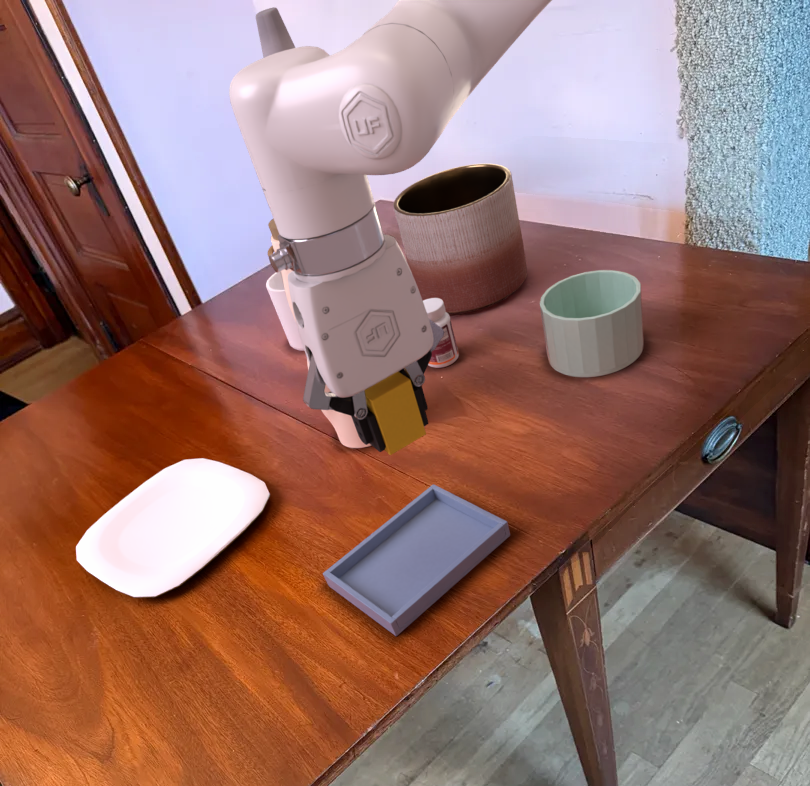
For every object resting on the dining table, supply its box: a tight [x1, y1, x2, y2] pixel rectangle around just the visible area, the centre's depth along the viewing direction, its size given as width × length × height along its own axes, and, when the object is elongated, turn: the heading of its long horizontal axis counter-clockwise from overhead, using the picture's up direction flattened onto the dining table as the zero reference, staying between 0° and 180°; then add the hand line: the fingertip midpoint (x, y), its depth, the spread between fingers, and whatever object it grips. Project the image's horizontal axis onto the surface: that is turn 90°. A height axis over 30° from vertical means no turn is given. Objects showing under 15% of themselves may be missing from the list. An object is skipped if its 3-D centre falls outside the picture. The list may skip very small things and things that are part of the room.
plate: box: [75, 457, 271, 599], centre depth 92 cm, size 22×22×2 cm
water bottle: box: [267, 218, 373, 449], centre depth 89 cm, size 10×9×28 cm
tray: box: [322, 483, 511, 637], centre depth 77 cm, size 16×11×2 cm
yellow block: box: [365, 372, 427, 456], centre depth 68 cm, size 4×4×6 cm
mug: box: [265, 272, 305, 352], centre depth 118 cm, size 13×10×10 cm
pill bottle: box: [423, 298, 460, 369], centre depth 102 cm, size 5×5×8 cm
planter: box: [392, 163, 528, 315], centre depth 113 cm, size 18×18×16 cm
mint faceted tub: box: [539, 269, 644, 378], centre depth 94 cm, size 12×12×8 cm
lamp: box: [255, 6, 296, 58], centre depth 126 cm, size 11×11×40 cm
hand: (396, 430), depth 69 cm, fingers closed on yellow block, 4 cm apart
